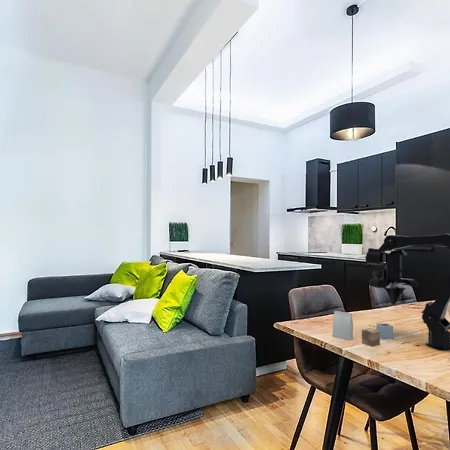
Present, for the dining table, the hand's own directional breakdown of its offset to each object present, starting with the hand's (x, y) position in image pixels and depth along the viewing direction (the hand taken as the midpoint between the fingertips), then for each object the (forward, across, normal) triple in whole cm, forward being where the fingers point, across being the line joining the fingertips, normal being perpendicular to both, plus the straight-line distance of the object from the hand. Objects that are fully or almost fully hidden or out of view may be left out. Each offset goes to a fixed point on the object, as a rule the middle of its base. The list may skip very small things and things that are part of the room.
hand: (393, 304), depth 132 cm
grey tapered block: (+13, +21, -3) cm, 25 cm away
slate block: (+13, +4, 0) cm, 14 cm away
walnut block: (+13, +15, +6) cm, 21 cm away
